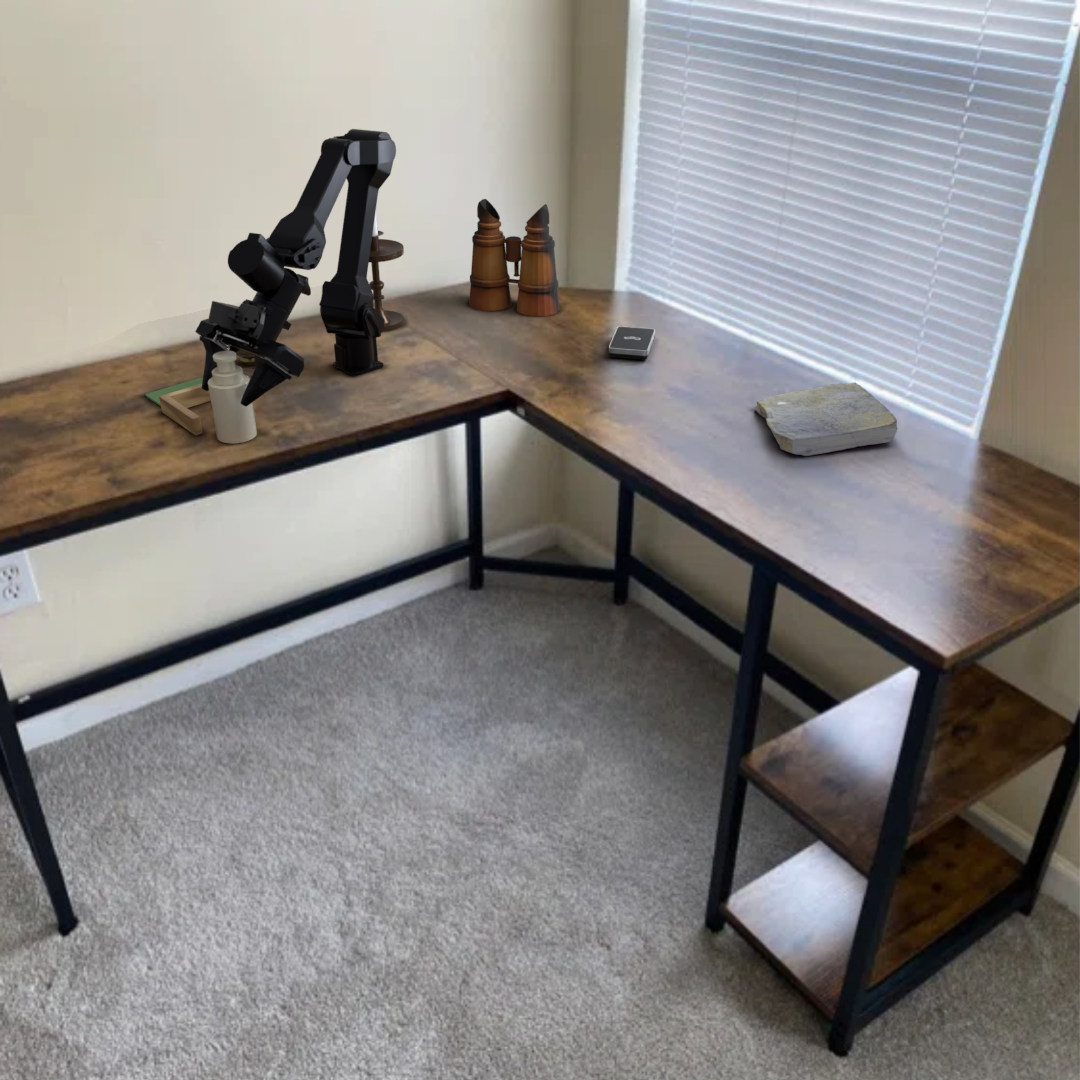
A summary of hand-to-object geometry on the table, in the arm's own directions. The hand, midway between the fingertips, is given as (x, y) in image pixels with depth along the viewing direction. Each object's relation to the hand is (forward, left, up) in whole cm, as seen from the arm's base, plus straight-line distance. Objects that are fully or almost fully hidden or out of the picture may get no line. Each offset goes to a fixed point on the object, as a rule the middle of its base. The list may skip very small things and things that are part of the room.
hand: (223, 397), depth 166 cm
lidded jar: (-1, 0, -7) cm, 7 cm away
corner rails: (-3, -10, -7) cm, 13 cm away
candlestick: (-45, -25, -7) cm, 52 cm away
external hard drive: (-71, +16, -7) cm, 73 cm away
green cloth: (-3, -20, -7) cm, 22 cm away
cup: (-17, -24, -7) cm, 31 cm away
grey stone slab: (-69, +58, -7) cm, 90 cm away
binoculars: (-70, -15, -7) cm, 72 cm away
